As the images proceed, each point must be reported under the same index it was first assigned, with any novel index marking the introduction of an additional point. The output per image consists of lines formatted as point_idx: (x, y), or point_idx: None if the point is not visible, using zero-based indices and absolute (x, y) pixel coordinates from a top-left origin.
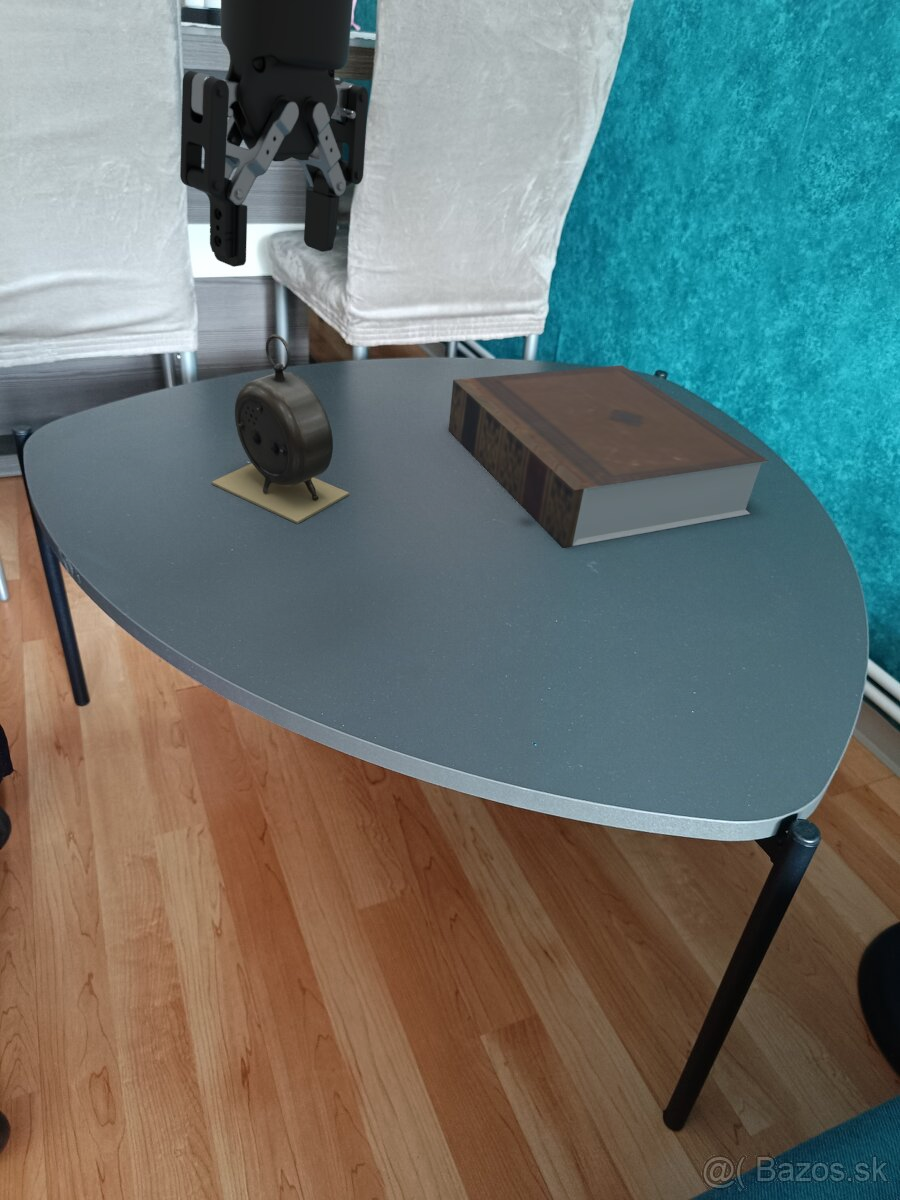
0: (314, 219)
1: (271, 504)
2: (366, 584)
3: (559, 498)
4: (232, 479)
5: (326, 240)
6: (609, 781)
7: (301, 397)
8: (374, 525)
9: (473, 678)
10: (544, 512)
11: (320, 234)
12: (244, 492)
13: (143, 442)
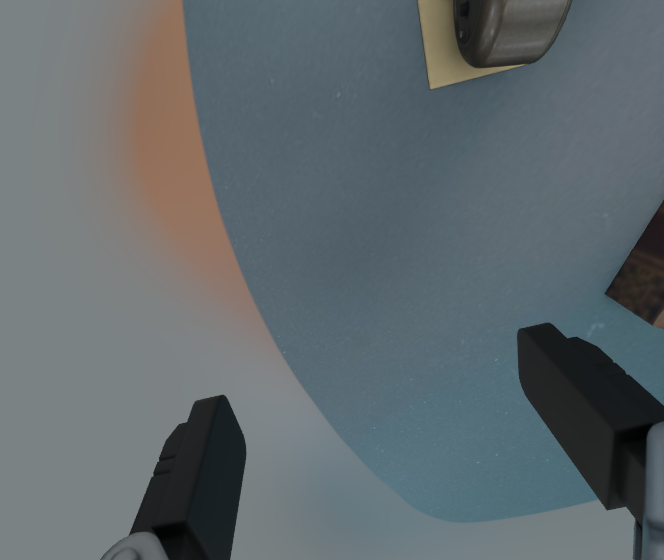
0: (557, 399)
1: (431, 30)
2: (409, 231)
3: (649, 293)
4: None
5: (535, 405)
6: (385, 465)
7: (539, 6)
8: (496, 145)
9: (390, 368)
10: (641, 260)
11: (540, 394)
12: None
13: None
